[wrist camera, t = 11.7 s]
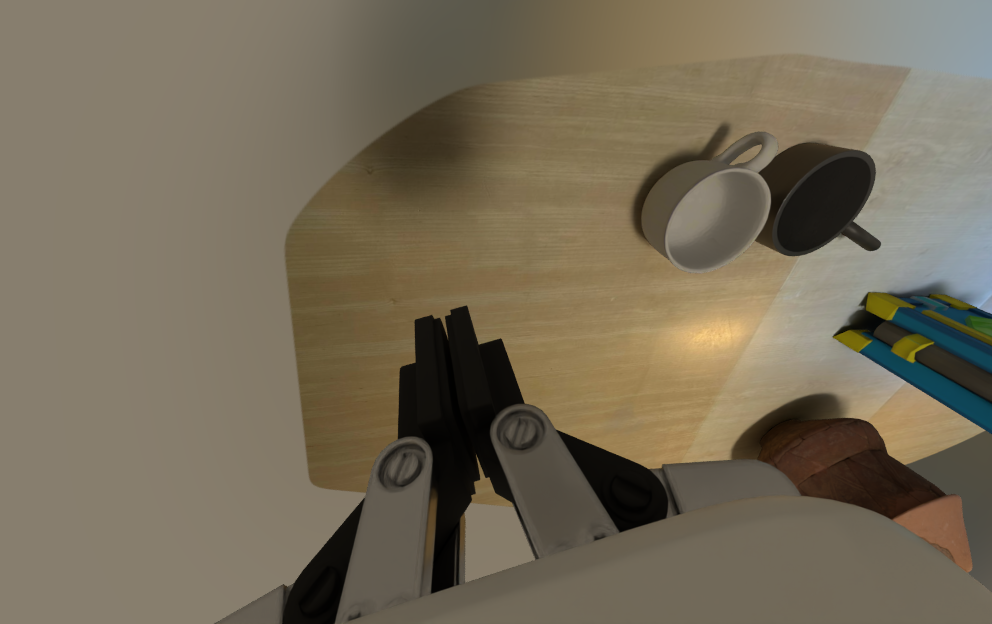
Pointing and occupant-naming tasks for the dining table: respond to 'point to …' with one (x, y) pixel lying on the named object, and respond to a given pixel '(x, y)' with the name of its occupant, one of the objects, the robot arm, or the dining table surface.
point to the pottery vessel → (866, 479)
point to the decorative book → (933, 349)
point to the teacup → (710, 207)
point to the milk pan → (816, 198)
